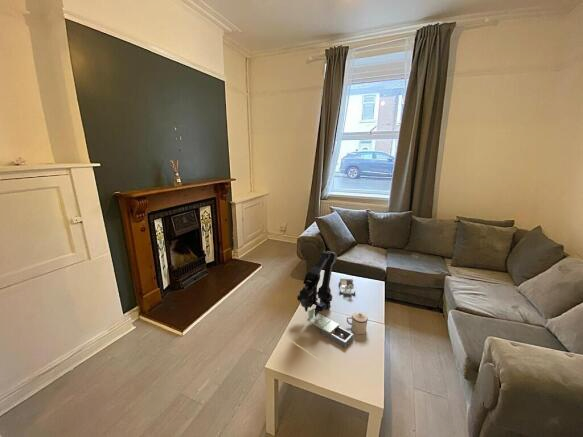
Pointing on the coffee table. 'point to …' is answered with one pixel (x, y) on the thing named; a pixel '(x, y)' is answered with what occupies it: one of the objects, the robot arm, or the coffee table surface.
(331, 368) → the coffee table surface
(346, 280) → the toy rover
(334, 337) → the tub
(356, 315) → the teacup with lid
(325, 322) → the lid
